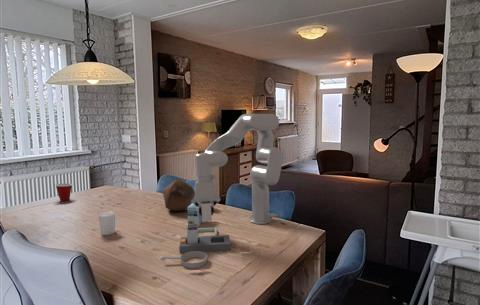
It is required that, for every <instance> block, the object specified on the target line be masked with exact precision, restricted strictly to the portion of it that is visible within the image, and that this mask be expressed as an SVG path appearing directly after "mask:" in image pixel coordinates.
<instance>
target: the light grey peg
mask: <svg viewBox="0 0 480 305" xmlns="http://www.w3.org/2000/svg"><path fill="white" fill-rule="evenodd" d="M198 228H199V226H197V224H191V225H188V224H187V228H186V237H187V244H198V236H199V232H198Z"/></svg>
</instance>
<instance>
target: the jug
mask: <svg viewBox="0 0 480 305" xmlns="http://www.w3.org/2000/svg"><path fill="white" fill-rule="evenodd" d="M162 196H163V199H164V205H165V208H166V209H167V210H170V211H174V212H181V211H183V212H184V211H187V207H188V206H190V205H191V204H192V203H191V200H192V199H193V197H194V196H195V188H194V187H193V186H192V185H191V184H189V183H188V182H186V181H184V180H181V179H175V180H173V182H171V183H170V184H169V185H166V187H164V188H163V190H162Z"/></svg>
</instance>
